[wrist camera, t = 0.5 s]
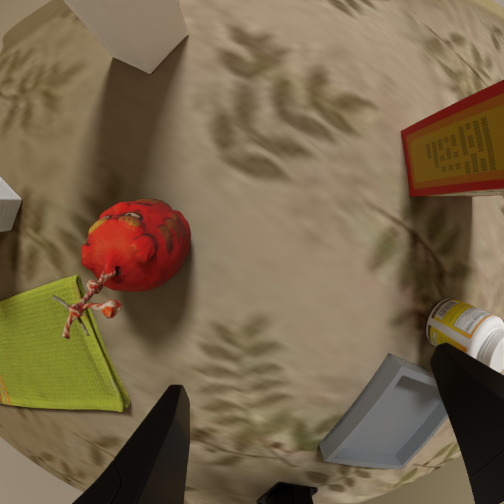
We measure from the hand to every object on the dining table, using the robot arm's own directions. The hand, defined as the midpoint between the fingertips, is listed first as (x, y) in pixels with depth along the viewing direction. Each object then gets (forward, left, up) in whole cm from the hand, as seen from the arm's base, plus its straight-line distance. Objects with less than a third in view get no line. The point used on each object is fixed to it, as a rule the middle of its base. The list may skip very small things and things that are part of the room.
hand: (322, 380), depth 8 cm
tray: (-8, -21, -16) cm, 28 cm away
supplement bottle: (+4, -19, -16) cm, 25 cm away
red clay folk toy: (-2, +11, -16) cm, 19 cm away
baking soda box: (+18, -10, -16) cm, 26 cm away
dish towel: (-26, +25, -17) cm, 39 cm away
